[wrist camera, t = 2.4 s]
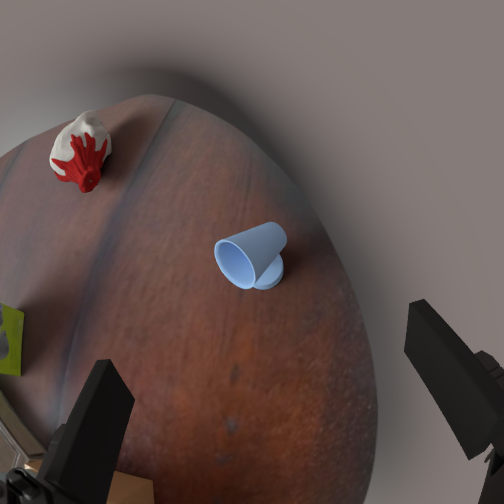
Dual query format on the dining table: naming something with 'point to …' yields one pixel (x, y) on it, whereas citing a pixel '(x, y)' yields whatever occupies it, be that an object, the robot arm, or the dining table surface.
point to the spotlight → (253, 256)
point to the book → (16, 439)
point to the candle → (81, 151)
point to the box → (10, 340)
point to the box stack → (113, 486)
